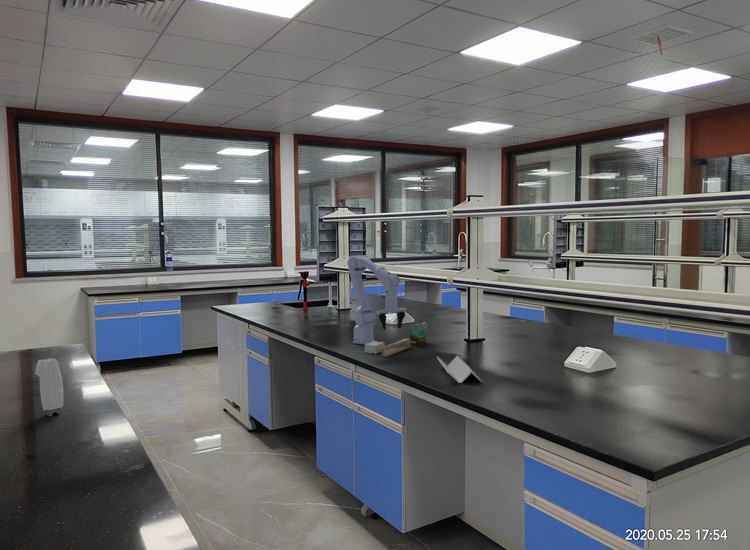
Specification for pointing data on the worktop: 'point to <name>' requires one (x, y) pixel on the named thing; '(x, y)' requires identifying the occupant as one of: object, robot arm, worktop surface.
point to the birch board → (395, 347)
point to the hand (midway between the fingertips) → (391, 328)
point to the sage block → (374, 347)
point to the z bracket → (458, 369)
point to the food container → (417, 333)
